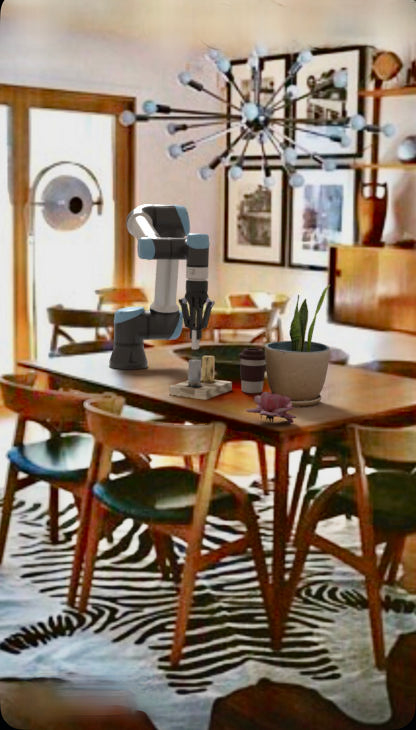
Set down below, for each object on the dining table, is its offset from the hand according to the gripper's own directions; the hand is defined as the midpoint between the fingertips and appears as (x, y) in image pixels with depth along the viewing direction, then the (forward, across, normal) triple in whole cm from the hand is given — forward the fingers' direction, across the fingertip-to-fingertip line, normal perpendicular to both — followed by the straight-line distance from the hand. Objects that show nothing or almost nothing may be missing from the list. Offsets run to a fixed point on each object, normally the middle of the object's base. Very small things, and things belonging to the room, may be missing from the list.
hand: (195, 348), depth 345 cm
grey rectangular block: (+16, 0, 0) cm, 16 cm away
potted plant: (+16, +34, +8) cm, 39 cm away
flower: (+16, +40, -25) cm, 50 cm away
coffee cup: (+16, +14, +17) cm, 27 cm away
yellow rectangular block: (+16, 0, +10) cm, 19 cm away
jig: (+16, 0, +5) cm, 17 cm away
